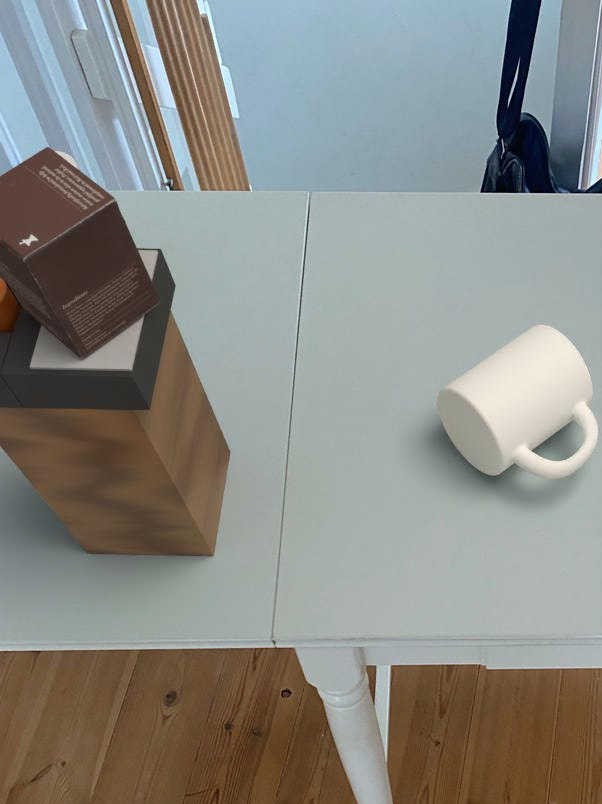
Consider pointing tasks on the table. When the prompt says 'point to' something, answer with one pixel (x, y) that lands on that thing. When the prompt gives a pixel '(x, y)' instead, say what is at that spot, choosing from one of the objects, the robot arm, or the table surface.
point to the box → (70, 253)
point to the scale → (88, 358)
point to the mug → (521, 405)
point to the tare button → (7, 309)
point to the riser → (130, 464)
